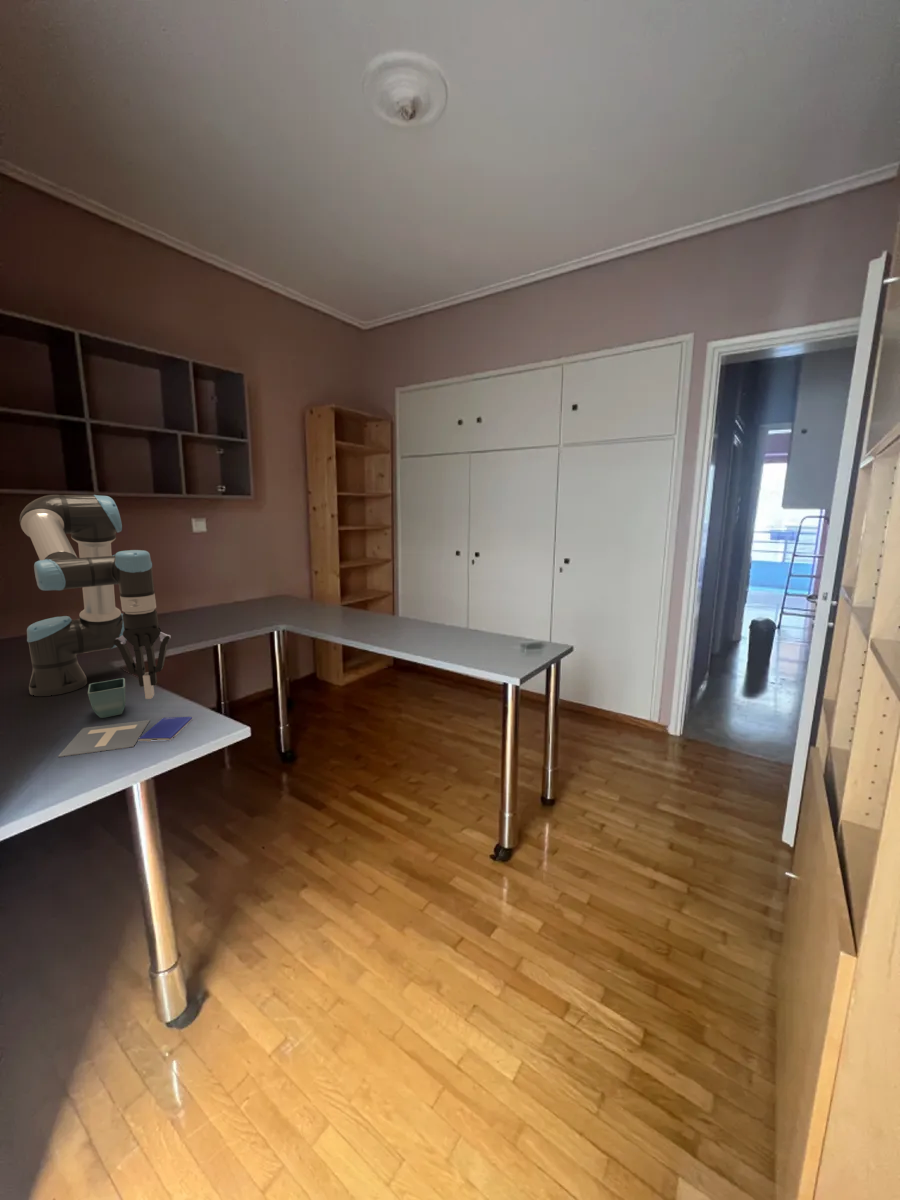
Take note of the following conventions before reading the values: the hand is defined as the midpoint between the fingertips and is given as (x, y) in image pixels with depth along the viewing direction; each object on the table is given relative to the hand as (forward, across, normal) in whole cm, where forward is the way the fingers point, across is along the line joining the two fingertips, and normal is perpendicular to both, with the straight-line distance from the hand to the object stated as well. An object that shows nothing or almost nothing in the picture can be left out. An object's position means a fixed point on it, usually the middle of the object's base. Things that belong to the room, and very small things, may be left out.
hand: (150, 696), depth 130 cm
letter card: (+10, -11, -1) cm, 15 cm away
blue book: (+11, +3, -1) cm, 11 cm away
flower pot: (+11, -15, +16) cm, 24 cm away
